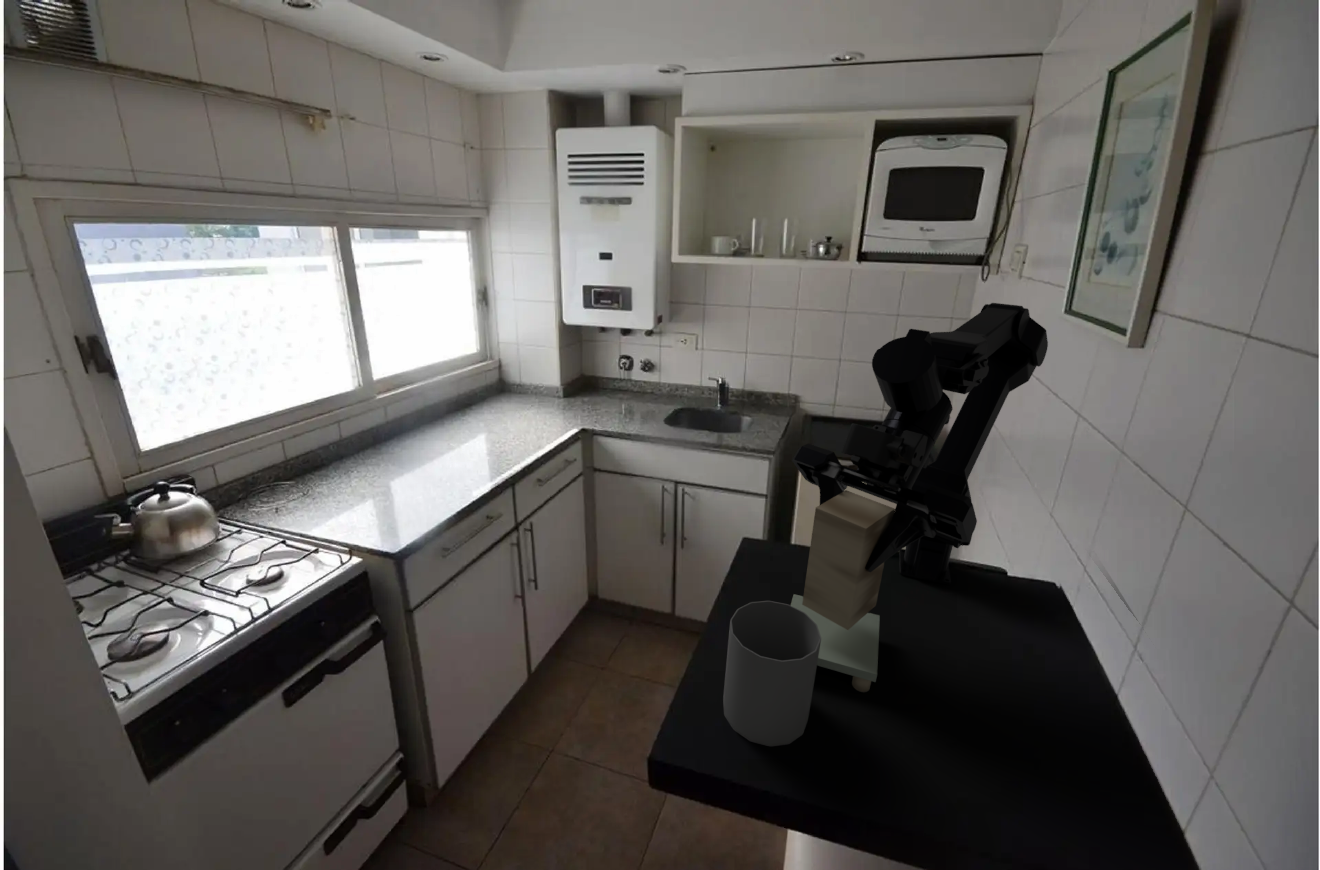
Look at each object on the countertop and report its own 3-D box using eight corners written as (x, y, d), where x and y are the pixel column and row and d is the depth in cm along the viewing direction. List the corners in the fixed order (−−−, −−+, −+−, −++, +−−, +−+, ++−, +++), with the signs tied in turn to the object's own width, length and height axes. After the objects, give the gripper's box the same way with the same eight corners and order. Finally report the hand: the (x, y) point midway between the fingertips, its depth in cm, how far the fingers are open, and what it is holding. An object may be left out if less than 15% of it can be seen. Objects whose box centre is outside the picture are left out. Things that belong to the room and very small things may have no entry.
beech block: (831, 582, 65) (846, 490, 61) (875, 605, 61) (894, 508, 57) (802, 604, 61) (815, 507, 57) (847, 630, 57) (866, 528, 53)
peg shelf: (790, 614, 70) (793, 594, 69) (875, 636, 67) (879, 615, 66) (776, 668, 61) (778, 646, 60) (872, 697, 58) (877, 674, 57)
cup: (715, 732, 53) (723, 648, 50) (729, 670, 61) (736, 594, 57) (806, 755, 51) (820, 670, 48) (809, 688, 59) (821, 610, 55)
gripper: (811, 375, 62) (740, 494, 59) (994, 418, 49) (917, 573, 46) (838, 426, 70) (777, 533, 66) (1002, 474, 57) (936, 610, 54)
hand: (841, 557), depth 58 cm, fingers closed on beech block, 5 cm apart
